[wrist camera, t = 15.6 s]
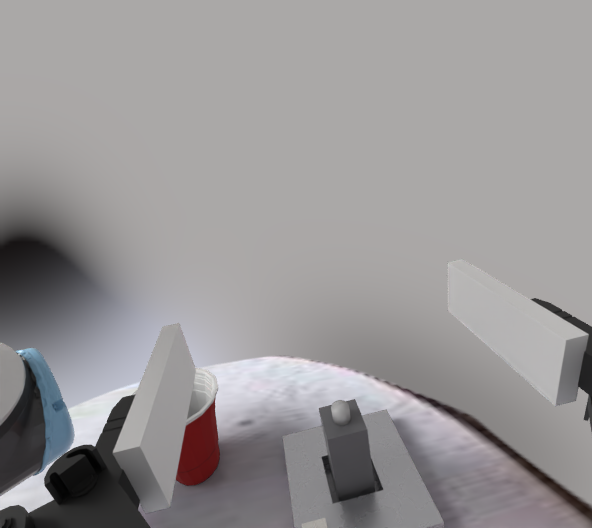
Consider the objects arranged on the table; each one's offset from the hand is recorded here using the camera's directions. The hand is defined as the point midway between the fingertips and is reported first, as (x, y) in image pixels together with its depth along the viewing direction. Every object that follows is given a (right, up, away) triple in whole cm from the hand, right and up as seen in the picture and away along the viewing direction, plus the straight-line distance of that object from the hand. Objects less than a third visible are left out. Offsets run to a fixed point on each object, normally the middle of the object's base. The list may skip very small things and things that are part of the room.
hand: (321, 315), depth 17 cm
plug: (+5, -22, +22) cm, 32 cm away
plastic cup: (-14, -24, +28) cm, 40 cm away
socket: (+5, -23, +22) cm, 32 cm away
